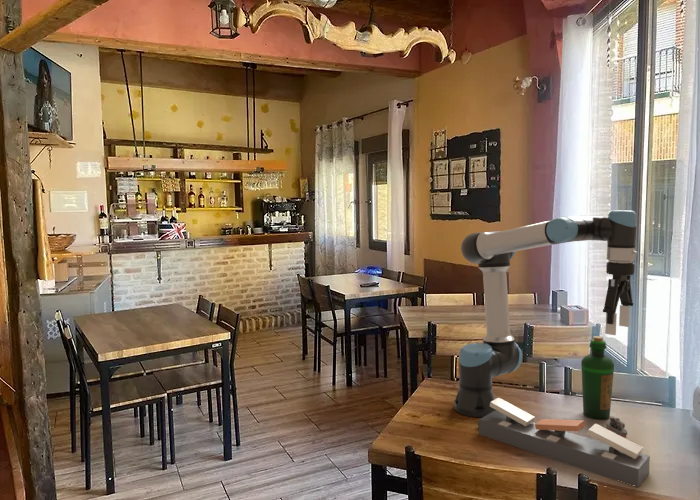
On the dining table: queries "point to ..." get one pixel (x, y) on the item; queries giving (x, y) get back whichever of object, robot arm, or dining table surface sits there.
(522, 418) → the block
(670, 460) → the dining table surface
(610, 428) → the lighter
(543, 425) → the rocker middle
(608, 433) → the rocker right
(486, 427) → the rocker switch base
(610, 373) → the bottle
